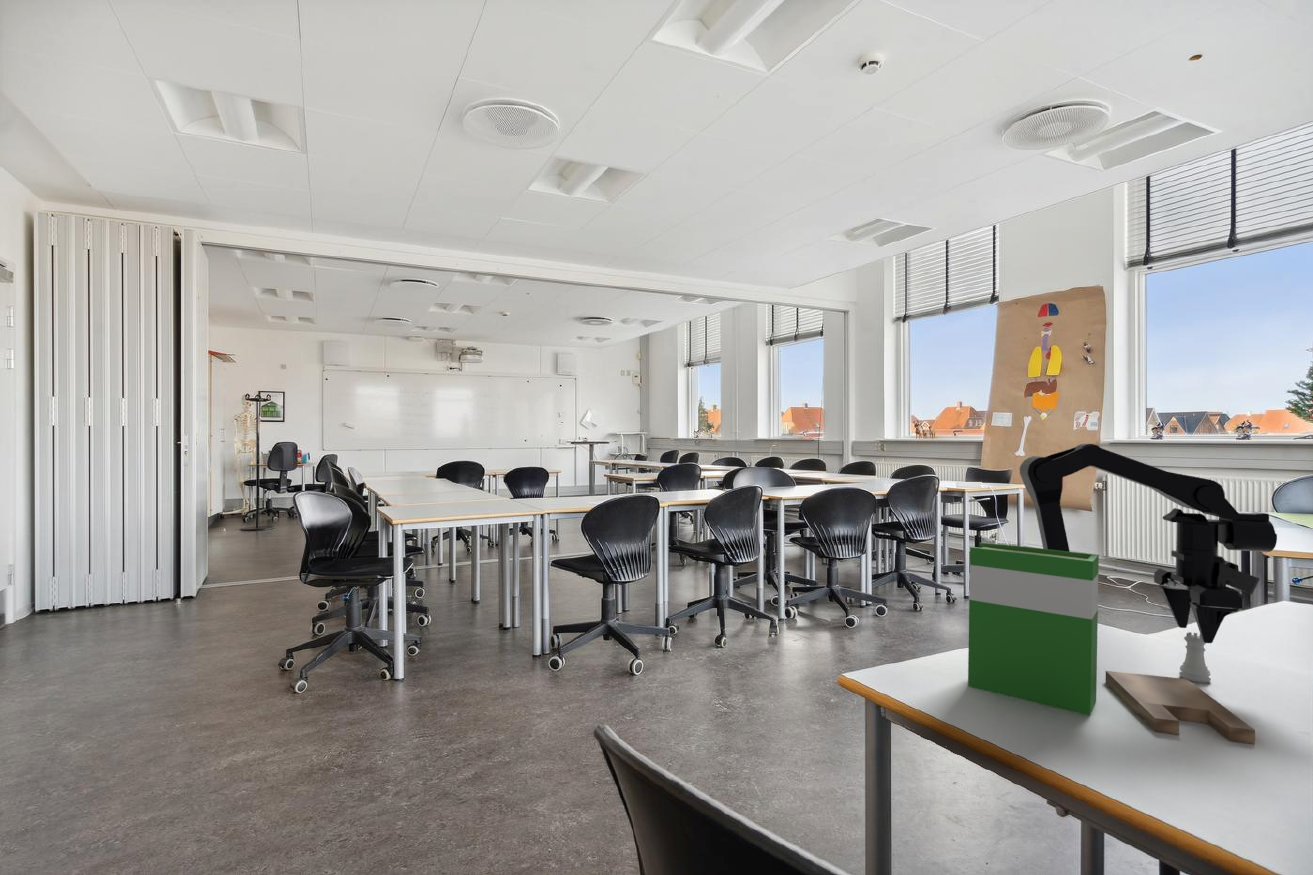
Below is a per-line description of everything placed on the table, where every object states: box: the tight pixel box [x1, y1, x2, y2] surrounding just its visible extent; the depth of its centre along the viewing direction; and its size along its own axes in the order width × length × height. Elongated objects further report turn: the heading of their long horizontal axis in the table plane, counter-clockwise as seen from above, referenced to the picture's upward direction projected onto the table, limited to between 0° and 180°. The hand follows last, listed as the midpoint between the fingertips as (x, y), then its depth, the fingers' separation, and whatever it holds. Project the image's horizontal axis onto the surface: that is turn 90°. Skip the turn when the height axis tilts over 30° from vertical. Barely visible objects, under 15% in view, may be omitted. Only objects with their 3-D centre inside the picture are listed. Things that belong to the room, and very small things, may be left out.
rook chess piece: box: [1178, 631, 1212, 684], centre depth 117 cm, size 4×4×8 cm
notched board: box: [1104, 670, 1256, 745], centre depth 104 cm, size 12×20×2 cm, turn 163°
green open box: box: [967, 541, 1100, 717], centre depth 109 cm, size 18×7×24 cm, turn 50°
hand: (1194, 635), depth 117 cm, fingers open, 9 cm apart
